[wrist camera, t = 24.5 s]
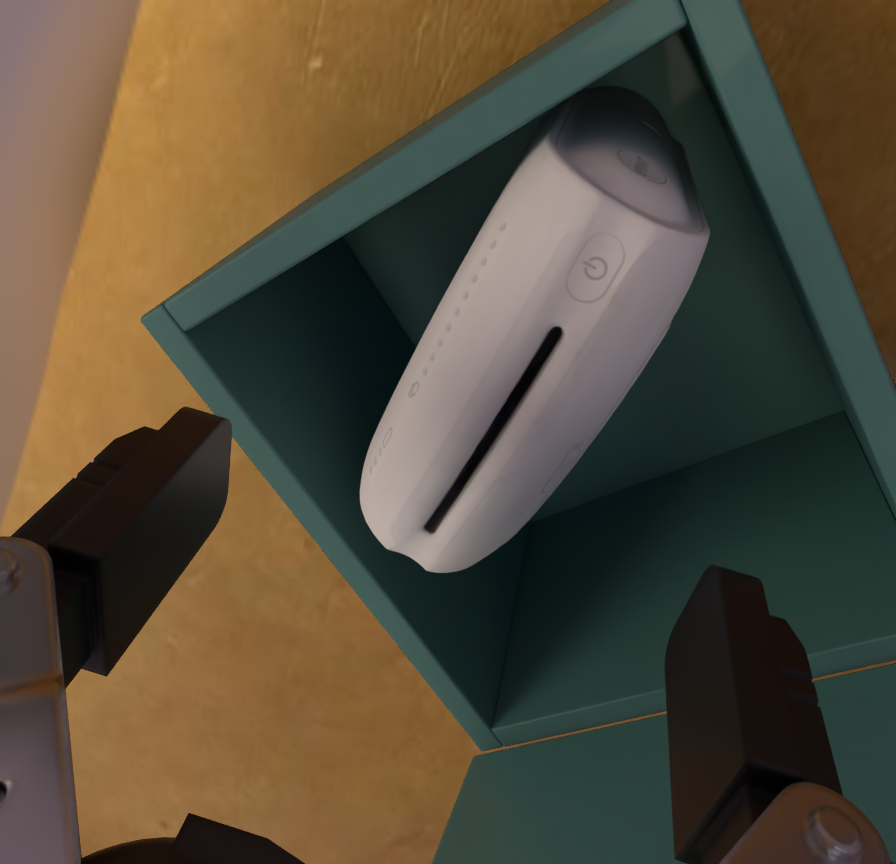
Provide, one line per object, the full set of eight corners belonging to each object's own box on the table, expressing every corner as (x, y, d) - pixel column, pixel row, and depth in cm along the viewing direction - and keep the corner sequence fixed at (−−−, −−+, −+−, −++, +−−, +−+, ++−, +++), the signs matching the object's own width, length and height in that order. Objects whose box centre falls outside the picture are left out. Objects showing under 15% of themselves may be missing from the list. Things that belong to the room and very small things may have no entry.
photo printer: (576, 51, 22) (524, 128, 12) (705, 126, 22) (768, 268, 12) (426, 336, 27) (299, 560, 17) (531, 392, 28) (469, 647, 17)
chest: (306, 199, 27) (137, 319, 18) (682, -47, 21) (718, -57, 12) (524, 531, 32) (481, 753, 23) (871, 407, 26) (995, 639, 17)
